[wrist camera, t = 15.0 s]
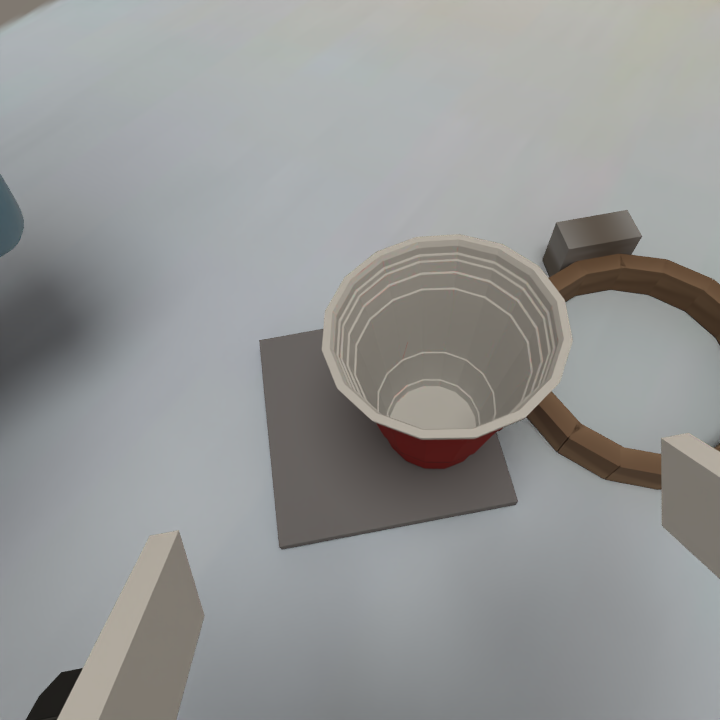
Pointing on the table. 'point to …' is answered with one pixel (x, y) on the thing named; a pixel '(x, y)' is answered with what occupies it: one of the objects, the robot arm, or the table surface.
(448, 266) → the plastic cup
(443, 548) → the table surface
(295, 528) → the rubber pad
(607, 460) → the walnut collar
